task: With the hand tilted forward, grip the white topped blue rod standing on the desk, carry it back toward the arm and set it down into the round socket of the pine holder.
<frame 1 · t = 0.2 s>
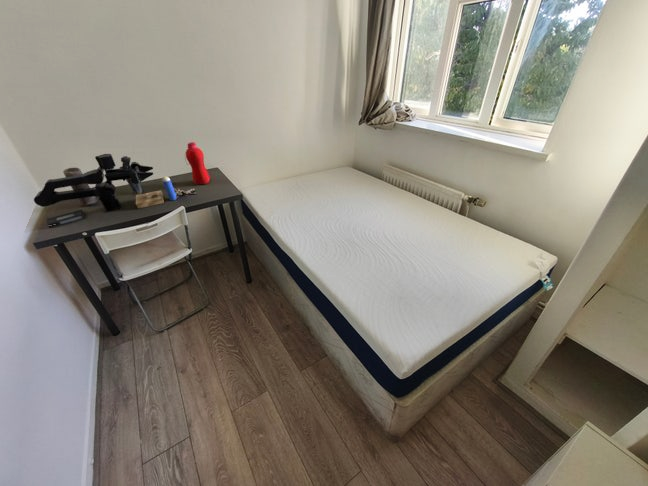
hand: (153, 170, 149), 17 cm above the table, tool horizontal, fingers open, 9 cm apart
holder: (151, 201, 156), on the table
white topped blue rod: (173, 198, 158), on the table
beverage cup: (138, 192, 166), on the table
water bottle: (201, 182, 177), on the table
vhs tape: (67, 220, 140), on the table
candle: (90, 204, 154), on the table
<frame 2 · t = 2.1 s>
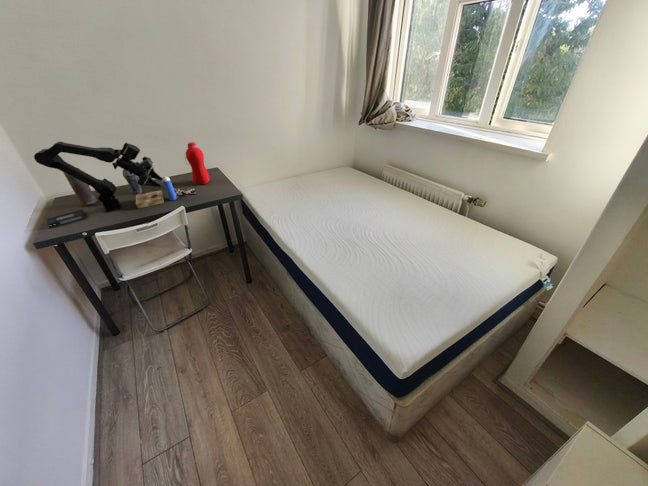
hand: (161, 182, 151), 10 cm above the table, tool tilted 45°, fingers open, 9 cm apart
nothing on the table moved.
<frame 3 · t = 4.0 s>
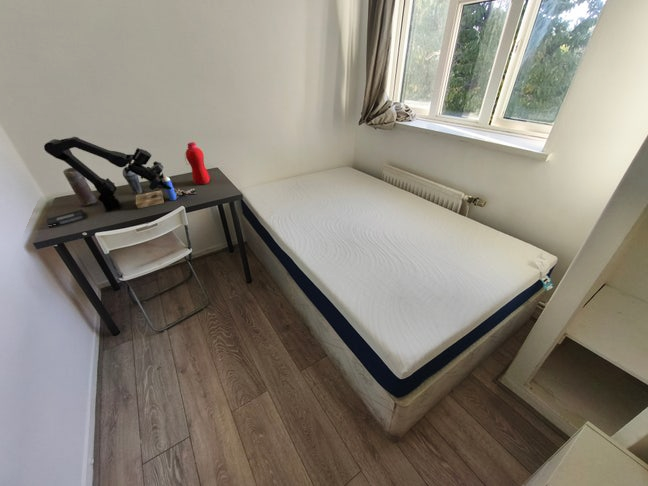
hand: (171, 187, 154), 7 cm above the table, tool tilted 45°, fingers closed on white topped blue rod, 4 cm apart
white topped blue rod: (173, 198, 158), on the table, touching gripper
everything else where it was.
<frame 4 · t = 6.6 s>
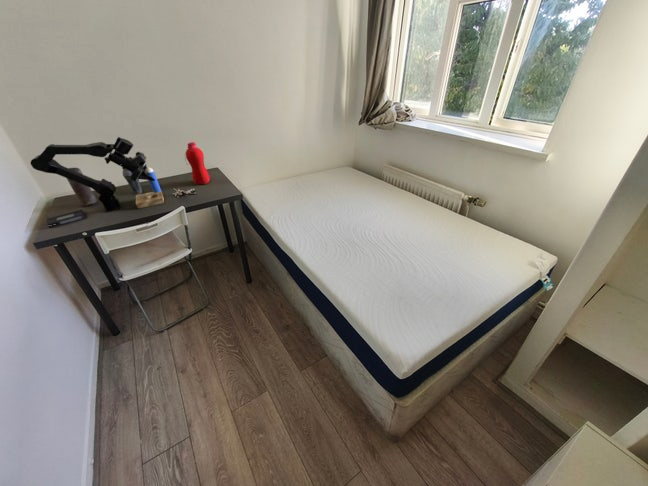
hand: (155, 178, 149), 13 cm above the table, tool tilted 45°, fingers closed on white topped blue rod, 4 cm apart
white topped blue rod: (157, 191, 153), point 6 cm above the table, touching gripper
everything else where it was.
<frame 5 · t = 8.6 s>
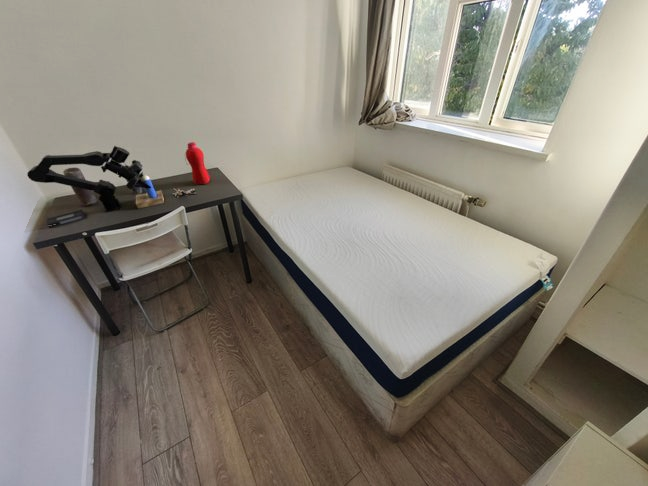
hand: (151, 186, 151), 9 cm above the table, tool tilted 45°, fingers closed on white topped blue rod, 4 cm apart
white topped blue rod: (153, 198, 155), point 2 cm above the table, touching gripper
everything else where it was.
when the fingers open (7 cm above the table, at t = 9.6 s): white topped blue rod stays where it is, resting in holder.
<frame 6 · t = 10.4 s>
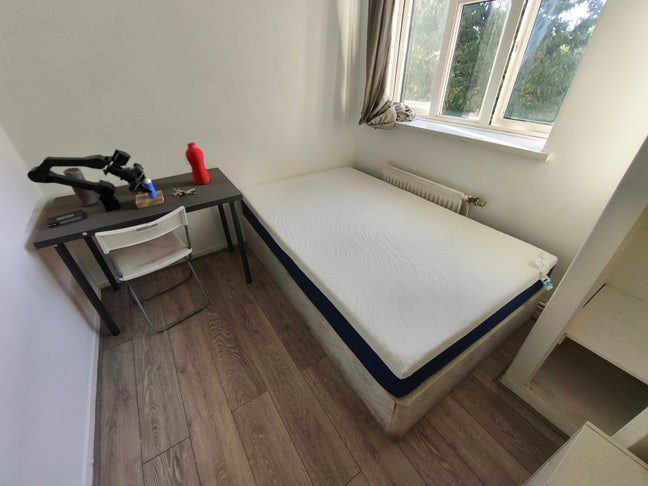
hand: (152, 188, 152), 7 cm above the table, tool tilted 45°, fingers open, 9 cm apart
white topped blue rod: (155, 200, 156), resting in holder
everything else where it was.
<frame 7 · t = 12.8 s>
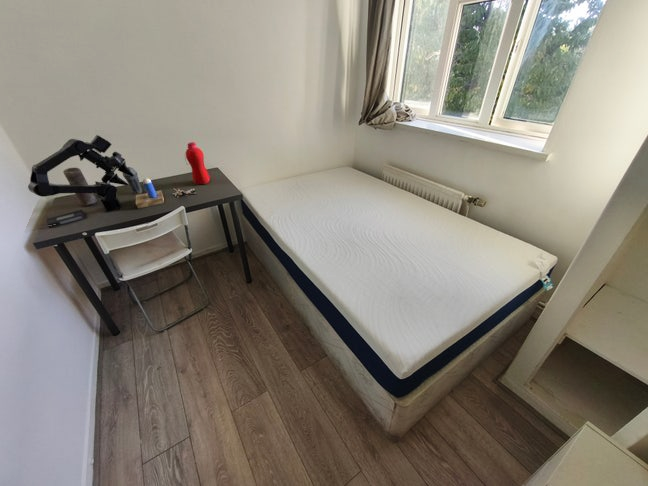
hand: (130, 180, 146), 14 cm above the table, tool tilted 40°, fingers open, 9 cm apart
nothing on the table moved.
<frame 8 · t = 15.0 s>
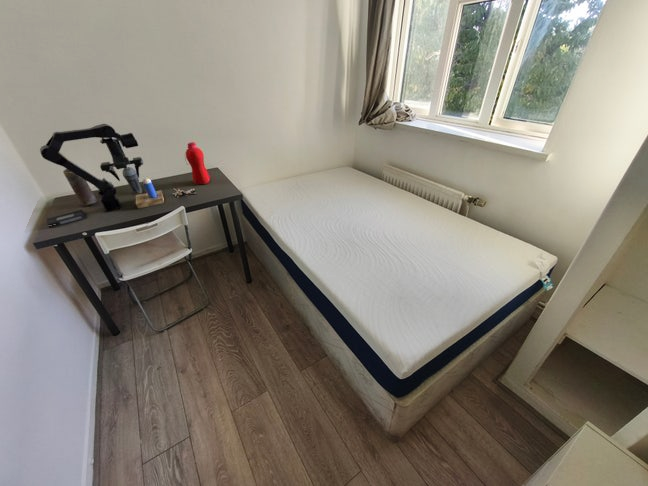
hand: (129, 179, 149), 13 cm above the table, tool pointing down, fingers open, 9 cm apart
nothing on the table moved.
at the end: white topped blue rod 0.1 cm from the target spot in the holder, point 0.0 cm above the holder's base; white topped blue rod tilted 0°; the gripper is holding nothing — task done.
